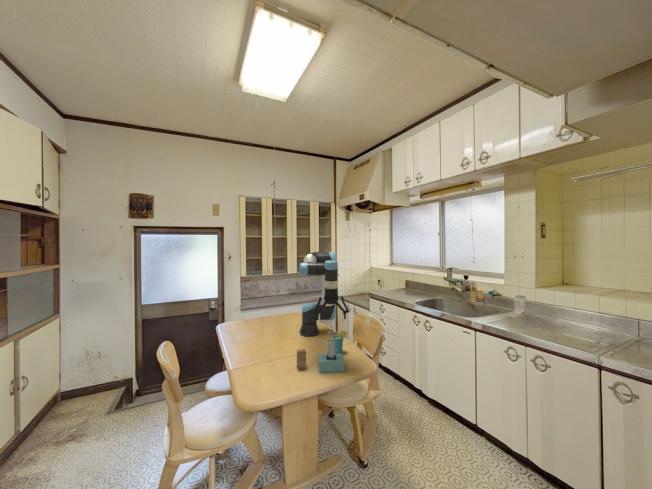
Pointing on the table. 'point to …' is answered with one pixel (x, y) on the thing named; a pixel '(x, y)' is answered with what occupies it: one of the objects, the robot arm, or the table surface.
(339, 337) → the cup
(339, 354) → the socket block
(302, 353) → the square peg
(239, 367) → the table surface
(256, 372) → the table surface
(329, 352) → the round dowel
